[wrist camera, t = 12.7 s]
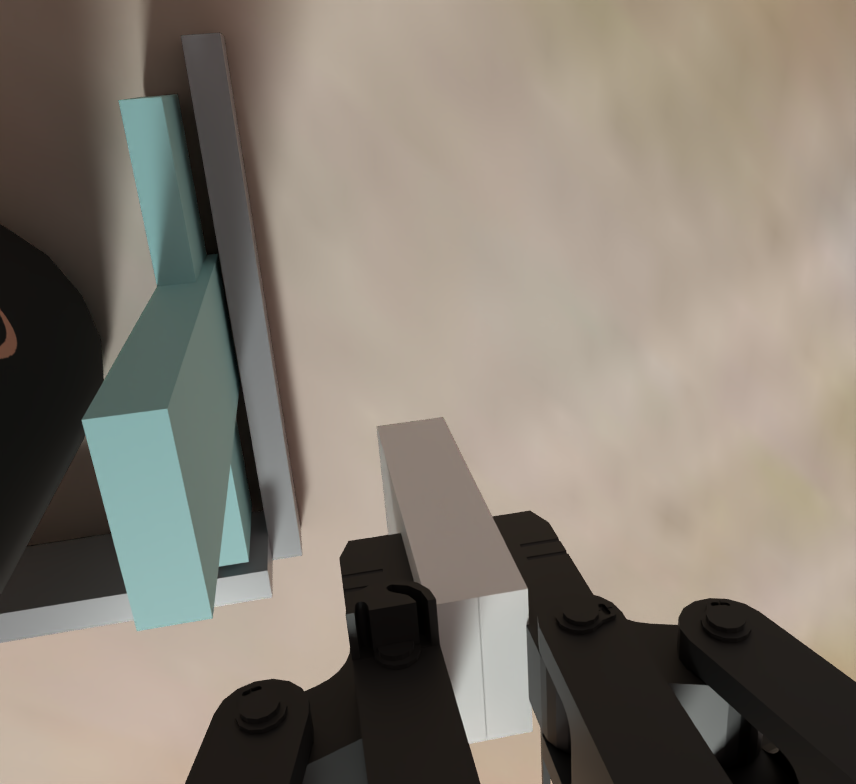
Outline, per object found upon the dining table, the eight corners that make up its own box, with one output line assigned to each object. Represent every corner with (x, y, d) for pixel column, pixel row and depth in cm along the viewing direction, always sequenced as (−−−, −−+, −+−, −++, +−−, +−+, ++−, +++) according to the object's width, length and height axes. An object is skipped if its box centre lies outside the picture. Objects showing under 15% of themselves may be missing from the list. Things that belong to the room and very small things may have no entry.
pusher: (141, 97, 27) (2, 117, 13) (189, 93, 27) (102, 108, 13) (222, 509, 33) (185, 814, 19) (261, 503, 33) (252, 801, 19)
